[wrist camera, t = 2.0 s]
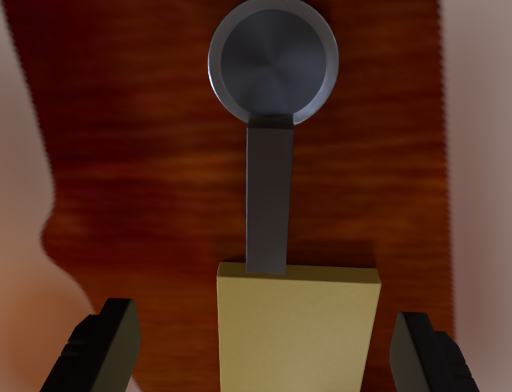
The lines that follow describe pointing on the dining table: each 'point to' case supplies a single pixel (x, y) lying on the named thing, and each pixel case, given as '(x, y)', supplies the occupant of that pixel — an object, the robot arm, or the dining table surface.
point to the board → (295, 327)
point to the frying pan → (271, 105)
